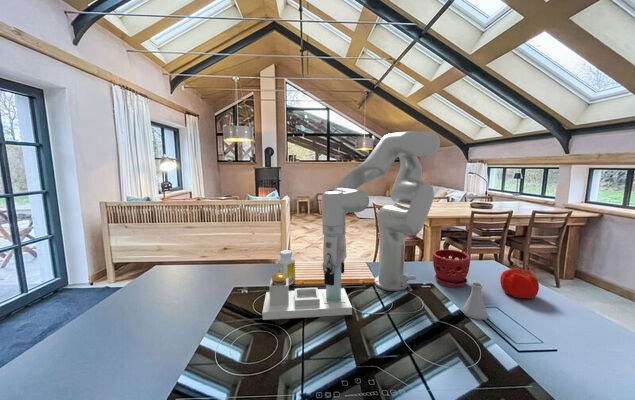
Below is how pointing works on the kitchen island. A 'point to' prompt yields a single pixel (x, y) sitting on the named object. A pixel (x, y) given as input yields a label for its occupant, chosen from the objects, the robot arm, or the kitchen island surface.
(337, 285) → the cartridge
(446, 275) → the plant pot
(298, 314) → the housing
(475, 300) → the flask
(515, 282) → the tomato
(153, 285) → the kitchen island surface
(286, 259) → the supplement bottle
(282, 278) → the plunger
